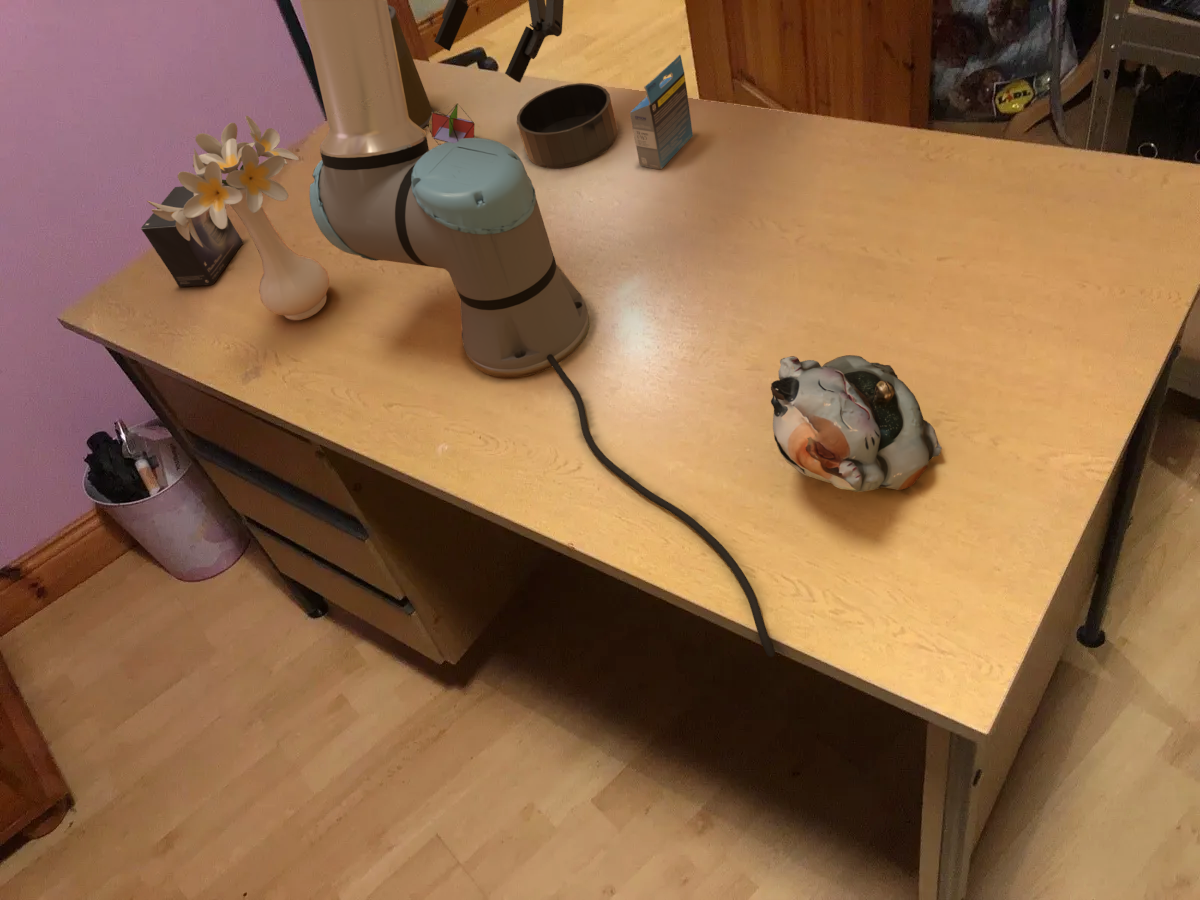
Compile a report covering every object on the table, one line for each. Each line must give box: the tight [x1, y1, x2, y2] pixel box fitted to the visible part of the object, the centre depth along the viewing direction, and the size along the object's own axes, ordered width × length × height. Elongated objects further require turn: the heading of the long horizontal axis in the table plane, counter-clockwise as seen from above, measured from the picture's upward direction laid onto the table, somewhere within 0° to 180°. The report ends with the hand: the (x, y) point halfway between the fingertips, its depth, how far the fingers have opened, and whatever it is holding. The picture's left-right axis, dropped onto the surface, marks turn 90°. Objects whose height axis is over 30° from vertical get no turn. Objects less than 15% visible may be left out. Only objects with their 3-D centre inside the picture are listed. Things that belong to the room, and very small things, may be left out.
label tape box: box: [629, 54, 694, 170], centre depth 129 cm, size 9×4×12 cm, turn 144°
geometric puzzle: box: [428, 102, 476, 144], centre depth 146 cm, size 7×7×8 cm
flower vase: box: [146, 115, 330, 321], centre depth 118 cm, size 13×18×25 cm
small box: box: [140, 185, 244, 288], centre depth 137 cm, size 11×6×10 cm, turn 168°
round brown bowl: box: [516, 82, 619, 169], centre depth 139 cm, size 14×14×6 cm
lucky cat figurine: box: [770, 354, 943, 493], centre depth 84 cm, size 15×12×14 cm
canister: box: [388, 4, 435, 129], centre depth 151 cm, size 11×10×20 cm
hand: (476, 62), depth 129 cm, fingers open, 13 cm apart
